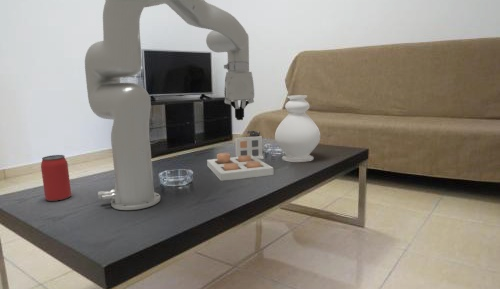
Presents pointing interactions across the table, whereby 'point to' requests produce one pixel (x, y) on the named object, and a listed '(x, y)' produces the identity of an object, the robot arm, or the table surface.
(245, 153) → the pattern card
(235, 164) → the button front left
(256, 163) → the button front right
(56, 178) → the beer can
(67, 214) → the table surface
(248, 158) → the button back right
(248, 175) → the button board
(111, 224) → the table surface
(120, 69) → the robot arm
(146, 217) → the table surface
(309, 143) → the decorative vase
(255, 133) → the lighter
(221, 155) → the button back left
